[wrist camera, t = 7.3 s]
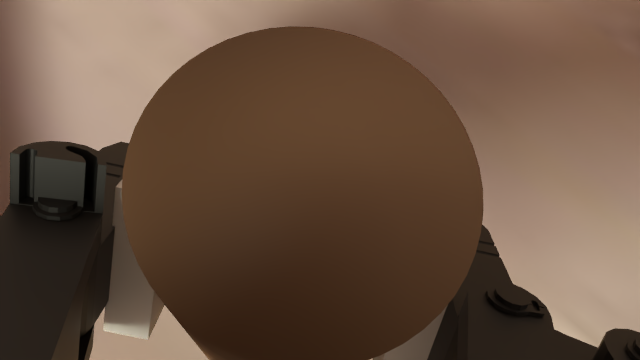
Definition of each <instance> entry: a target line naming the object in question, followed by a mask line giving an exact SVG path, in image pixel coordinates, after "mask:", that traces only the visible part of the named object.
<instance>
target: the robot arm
mask: <svg viewBox="0 0 640 360" xmlns="http://www.w3.org/2000/svg"><path fill="white" fill-rule="evenodd" d="M128 146H129V143H125V142H119V143H116V144H113V145H110V146H107V147H105V148H102V149H101V150H100V151H97V150H94V149H92V148H90V147H88V146H85V145H80V144H75V143H71V142H58V141H46V142H35V143H31V144H27V145H24V146H20V147H18V148H17V149H15V150H14V151H13V152H11V153H10V204H9V206H8V207H7V209H6V210H5V212H4V213H3V215H2V216H0V360H89V358H90V354H91V350H92V347H93V334H94V323H95V322H96V320H97V319H98V317H99V315H100V314H101V312H102V310H103V309H104V307H105V316H104V328H103V331H106V332H111V333H116V334H121V335H126V336H131V337H136V338H141V339H146V340H148V339H149V337H150V335H151V332H152V330H153V328H154V326H155V324H156V322H157V320H158V318H159V315H160V313H161V311H162V309H163V307H164V305H165V304H164V303H163V302H162V300H161V299H160V298H159V297H158V295H157V294H156V293H155V291H154V290H153V289H152V287H151V286H150V285H149V283H148V281H147V279H146V277H145V276H144V274H143V272H142V270H141V269H140V267H139V265H138V263H137V260H136V258H135V255H134V253H133V250H132V248H131V245H130V243H129V239H128V235H127V231H126V226H125V222H124V218H123V206H122V194H121V193H122V177H123V168H124V163H125V158H126V153H127V148H128ZM373 360H640V332H636V331H633V330H629V329H613V330H610V331H608V332H606V334H605V336H604V338H603V340H602V341H601V343H600V345H599V347H598V348H597V347H595V346H592V345H590V344H587V343H585V342H582V341H580V340H577V339H575V338H572V337H570V336H567V335H565V334H563V333H561V332H559V331H556V330H554V327H553V323H552V318H551V315H550V313H549V311H548V309H547V307H546V306H545V305H544V304H543V303H542V302H541V301H540V300H539V299H538V298H537V297H536V296H534V295H532V294H531V293H529V292H528V291H526V290H525V289H523V288H521V287H518V286H516V285H514V284H513V283H512V281H511V279H510V277H509V275H508V272H507V270H506V268H505V266H504V264H503V262H502V259H501V258H500V257H499V253H498V251H497V248H496V246H494V242H493V240H492V237H491V235H490V233H489V231H488V230H487V229H486V228H485V227H484V226H483V225H482V227H481V234H480V238H479V242H478V246H477V250H476V254H475V257H474V259H473V261H472V264H471V266H470V269H469V271H468V274H467V276H466V278H465V279H464V281H463V283H462V284H461V286H460V288H459V290H458V291H457V293H456V295H455V296H454V297H453V299H452V300H451V301H450V302H449V304H448V305H447V306H446V307H445V309H444V310H443V311H442V312H441V314H440V315H438V316H437V317H436V318H435V319H434V320H433V321H432V322H431V323H430V324H429V325H428V326H427V327H426V328H425V329H424V330H422V331H421V332H420V333H418V334H417V335H415V336H414V337H412V338H411V339H410V340H408V341H407V342H405V343H404V344H402V345H400V346H398V347H396V348H394V349H392V350H390V351H388V352H387V353H385V354H383V355H380V356H377V357H375V358H373Z"/></svg>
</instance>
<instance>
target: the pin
mask: <svg viewBox="0 0 640 360" xmlns="http://www.w3.org/2000/svg"><path fill="white" fill-rule="evenodd" d="M121 194H122V206H123V218H124V222H125V226H126V231H127V235H128V239H129V243H130V245H131V248H132V250H133V253H134V255H135V258H136V260H137V263H138V265H139V267H140V269H141V270H142V272H143V274H144V276H145V277H146V279H147V281H148V283H149V285H150V286H151V287H152V289H153V290H154V291H155V293H156V294H157V295H158V297H159V298H160V299H161V300H162V302H163V303H164V304H165V306H166V307H167V308H168V309H169V311H170V312H171V313H172V314H173V316H174V317H175V318H176V319H177V321H178V322H179V323H180V324H181V325H182V327H183V328H184V329H185V330H186V332H187V333H188V334H189V335H190V337H191V338H192V339H193V340H194V342H195V343H196V344H197V345H198V347H199V348H200V349H201V350H202V351H203V353H204V354H205V355H206V356H207V358H208V359H209V360H369V359H372V358H375V357H377V356H380V355H383V354H385V353H387V352H388V351H390V350H392V349H394V348H396V347H398V346H400V345H402V344H404V343H405V342H407V341H408V340H410V339H411V338H412V337H414V336H415V335H417V334H418V333H420V332H421V331H422V330H424V329H425V328H426V327H427V326H428V325H429V324H430V323H431V322H432V321H433V320H434V319H435V318H436V317H437V316H438V315H440V314H441V312H442V311H443V310H444V309H445V307H446V306H447V305H448V304H449V302H450V301H451V300H452V299H453V297H454V296H455V295H456V293H457V291H458V290H459V288H460V286H461V284H462V283H463V281H464V279H465V278H466V276H467V274H468V271H469V269H470V266H471V264H472V261H473V259H474V257H475V254H476V250H477V246H478V242H479V238H480V234H481V227H482V218H483V188H482V181H481V175H480V169H479V165H478V162H477V158H476V155H475V151H474V148H473V145H472V143H471V141H470V139H469V136H468V134H467V132H466V129H465V127H464V126H463V124H462V122H461V121H460V119H459V117H458V115H457V114H456V112H455V110H454V109H453V107H452V106H451V105H450V104H449V102H448V101H447V100H446V98H445V97H444V96H443V94H442V93H441V92H440V91H439V90H438V89H437V88H436V87H435V86H434V85H433V84H432V83H431V82H430V81H429V80H428V78H427V77H425V76H424V75H423V74H422V73H421V72H419V71H418V70H417V69H416V68H414V67H413V66H412V65H411V64H410V63H408V62H406V61H405V60H403V59H402V58H400V57H399V56H397V55H396V54H394V53H393V52H391V51H389V50H387V49H385V48H383V47H381V46H379V45H377V44H375V43H373V42H370V41H367V40H365V39H362V38H359V37H357V36H354V35H350V34H346V33H342V32H338V31H335V30H329V29H322V28H314V27H280V28H269V29H264V30H259V31H254V32H249V33H246V34H243V35H240V36H237V37H234V38H231V39H227V40H225V41H223V42H221V43H219V44H217V45H215V46H213V47H210V48H208V49H207V50H205V51H203V52H202V53H200V54H199V55H197V56H196V57H194V58H192V59H191V60H189V61H188V62H187V63H186V64H184V65H183V66H182V67H181V68H180V69H178V70H177V71H176V72H175V73H174V74H172V76H171V77H170V78H169V79H168V80H167V81H166V82H165V83H164V84H163V85H162V86H161V87H160V88H159V89H158V91H157V92H156V93H155V95H154V96H153V98H152V99H151V100H150V102H149V103H148V105H147V106H146V107H145V109H144V111H143V113H142V115H141V117H140V119H139V121H138V123H137V125H136V126H135V129H134V132H133V134H132V137H131V140H130V143H129V146H128V148H127V153H126V158H125V163H124V168H123V177H122V193H121Z"/></svg>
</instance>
